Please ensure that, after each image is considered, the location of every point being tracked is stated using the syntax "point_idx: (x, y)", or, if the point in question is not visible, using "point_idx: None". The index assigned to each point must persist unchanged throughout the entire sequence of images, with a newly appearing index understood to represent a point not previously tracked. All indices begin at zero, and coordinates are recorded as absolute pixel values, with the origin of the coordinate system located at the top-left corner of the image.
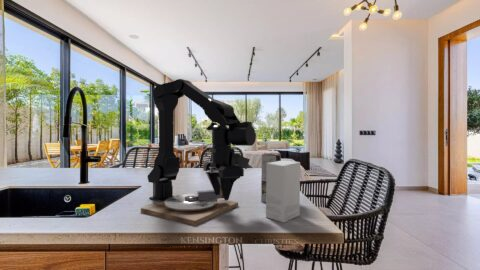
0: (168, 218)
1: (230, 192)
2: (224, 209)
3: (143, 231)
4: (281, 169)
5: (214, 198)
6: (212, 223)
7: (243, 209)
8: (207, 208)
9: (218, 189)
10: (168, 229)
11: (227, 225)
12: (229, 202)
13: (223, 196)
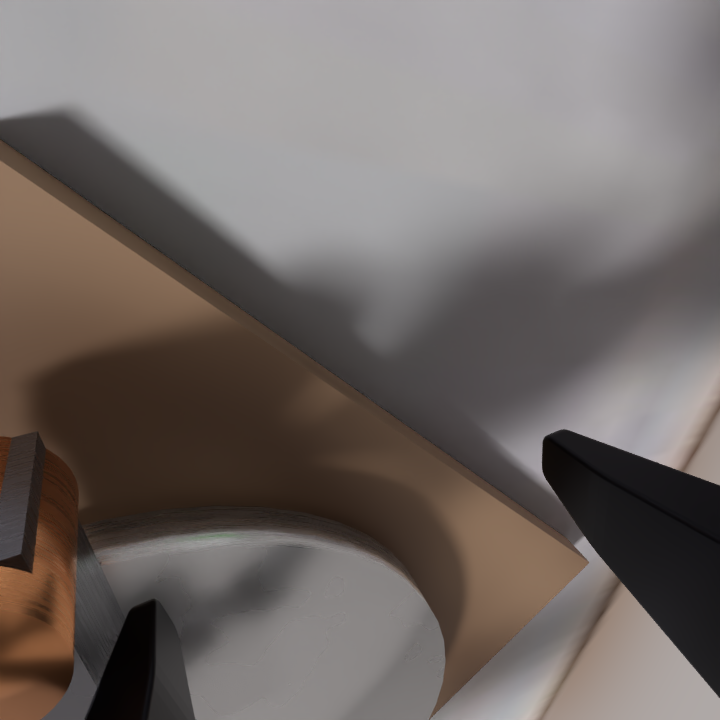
0: None
1: (694, 477)
2: (337, 386)
3: (535, 707)
4: None
5: (117, 606)
6: None
7: (235, 65)
8: (400, 564)
9: (168, 714)
10: (557, 634)
11: (660, 337)
12: (2, 325)
13: (582, 524)
